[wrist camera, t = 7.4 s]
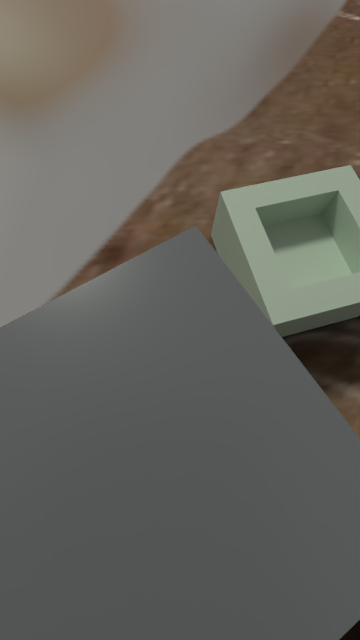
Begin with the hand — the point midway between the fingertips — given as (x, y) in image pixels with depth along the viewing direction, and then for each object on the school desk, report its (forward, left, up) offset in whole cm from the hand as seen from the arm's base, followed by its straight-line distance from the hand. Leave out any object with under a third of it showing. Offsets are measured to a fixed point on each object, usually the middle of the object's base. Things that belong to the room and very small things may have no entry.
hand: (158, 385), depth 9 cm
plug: (-1, 0, -6) cm, 6 cm away
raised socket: (+6, -10, -7) cm, 14 cm away
